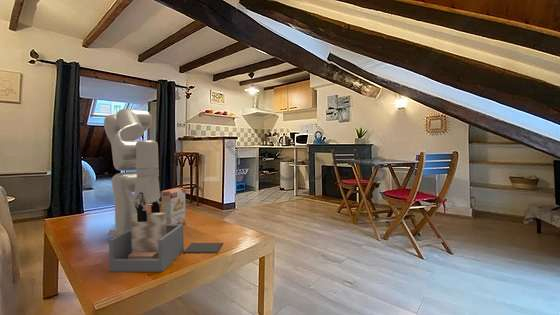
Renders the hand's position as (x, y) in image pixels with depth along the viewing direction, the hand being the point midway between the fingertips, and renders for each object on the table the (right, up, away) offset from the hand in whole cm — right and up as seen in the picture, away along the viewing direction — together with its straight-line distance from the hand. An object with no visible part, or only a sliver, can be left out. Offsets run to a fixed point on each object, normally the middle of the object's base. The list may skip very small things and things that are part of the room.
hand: (149, 218), depth 99 cm
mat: (+17, -16, +12) cm, 26 cm away
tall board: (0, -16, +1) cm, 16 cm away
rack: (0, -16, +1) cm, 16 cm away
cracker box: (-8, -15, +44) cm, 47 cm away
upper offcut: (0, -14, -4) cm, 15 cm away
